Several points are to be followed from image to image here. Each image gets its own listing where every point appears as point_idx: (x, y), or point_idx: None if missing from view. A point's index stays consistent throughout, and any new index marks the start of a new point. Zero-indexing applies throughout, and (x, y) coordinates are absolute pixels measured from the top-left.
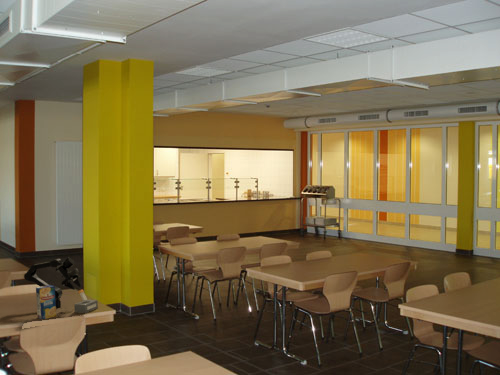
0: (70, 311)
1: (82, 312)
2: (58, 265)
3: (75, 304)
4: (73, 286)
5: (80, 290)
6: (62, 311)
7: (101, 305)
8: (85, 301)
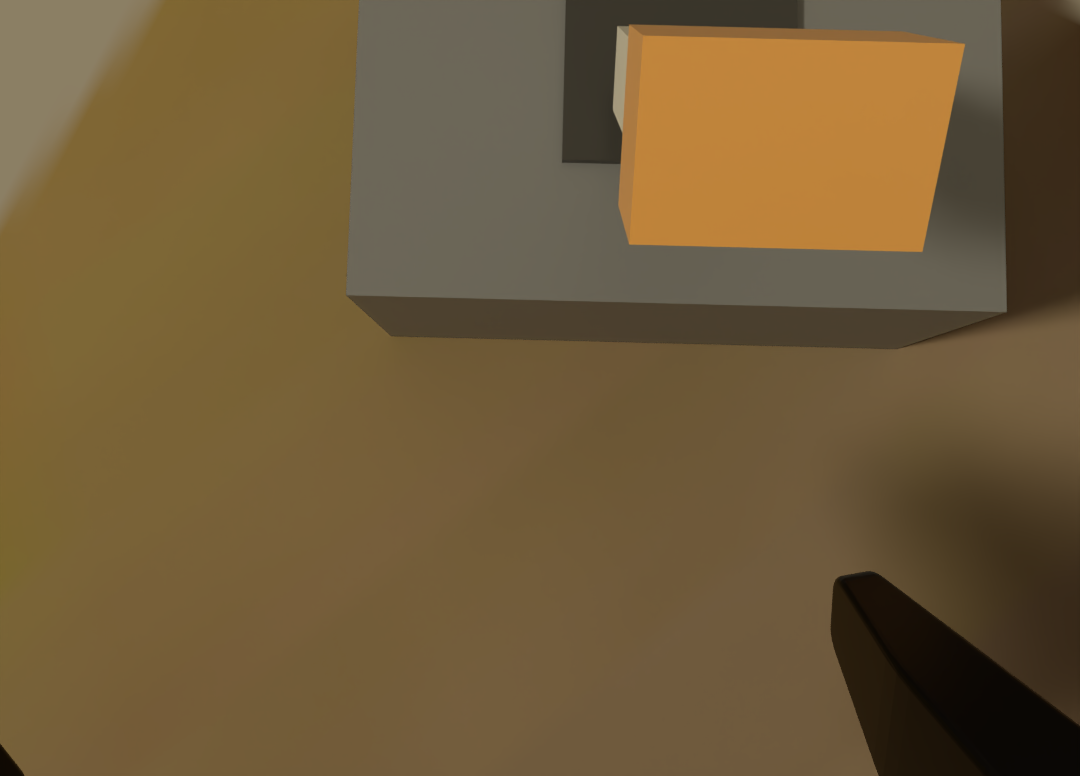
0: (867, 518)
1: None
2: None
3: (1003, 262)
4: (966, 723)
5: (907, 41)
6: None
7: (144, 62)
8: None
